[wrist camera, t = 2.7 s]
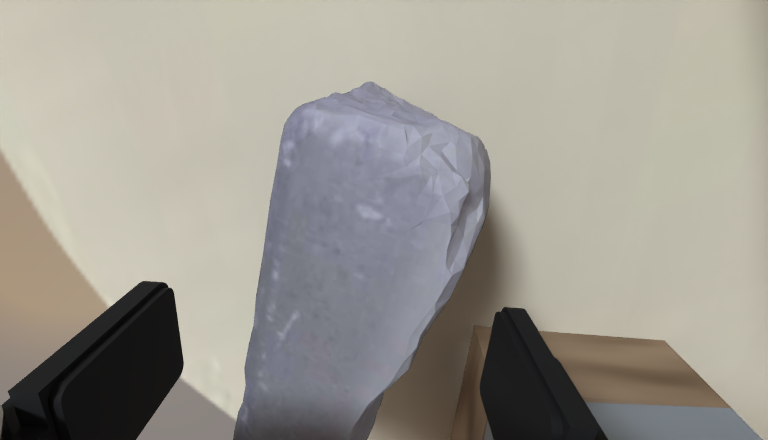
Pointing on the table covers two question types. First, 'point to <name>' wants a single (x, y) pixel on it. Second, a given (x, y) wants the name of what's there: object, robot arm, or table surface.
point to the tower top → (666, 422)
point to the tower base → (594, 375)
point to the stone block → (356, 260)
